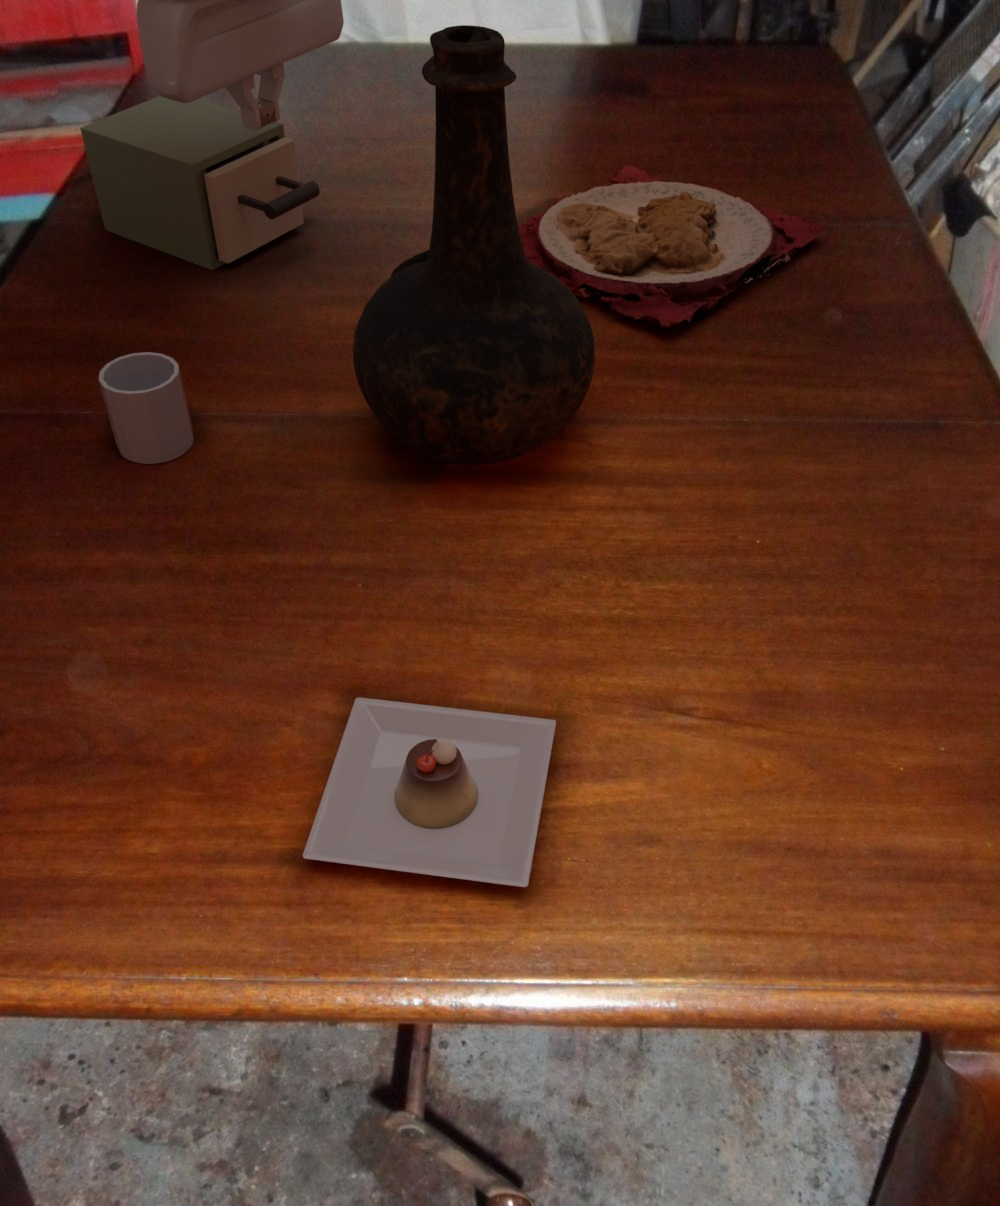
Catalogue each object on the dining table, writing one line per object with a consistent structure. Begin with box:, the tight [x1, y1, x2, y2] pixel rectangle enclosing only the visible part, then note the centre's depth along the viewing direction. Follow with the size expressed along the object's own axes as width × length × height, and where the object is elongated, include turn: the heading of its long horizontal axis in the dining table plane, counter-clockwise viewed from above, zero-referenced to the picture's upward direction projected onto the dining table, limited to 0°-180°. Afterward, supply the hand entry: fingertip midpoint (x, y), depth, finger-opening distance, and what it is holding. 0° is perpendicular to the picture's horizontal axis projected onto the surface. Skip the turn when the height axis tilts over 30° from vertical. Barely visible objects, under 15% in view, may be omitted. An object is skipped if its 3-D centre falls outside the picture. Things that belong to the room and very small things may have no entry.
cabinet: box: [80, 95, 286, 271], centre depth 113 cm, size 15×12×10 cm
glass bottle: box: [352, 24, 596, 466], centre depth 82 cm, size 18×18×28 cm
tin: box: [98, 351, 195, 465], centre depth 89 cm, size 6×6×6 cm
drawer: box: [201, 136, 321, 264], centre depth 111 cm, size 18×10×8 cm, turn 55°
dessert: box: [302, 697, 557, 888], centre depth 65 cm, size 12×12×5 cm
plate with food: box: [518, 165, 827, 328], centre depth 112 cm, size 24×26×4 cm
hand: (262, 124), depth 104 cm, fingers closed
